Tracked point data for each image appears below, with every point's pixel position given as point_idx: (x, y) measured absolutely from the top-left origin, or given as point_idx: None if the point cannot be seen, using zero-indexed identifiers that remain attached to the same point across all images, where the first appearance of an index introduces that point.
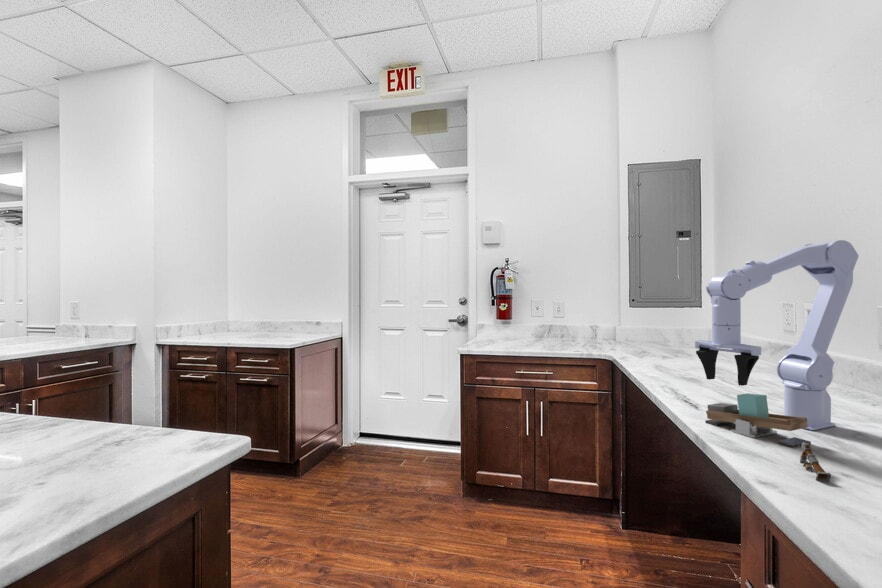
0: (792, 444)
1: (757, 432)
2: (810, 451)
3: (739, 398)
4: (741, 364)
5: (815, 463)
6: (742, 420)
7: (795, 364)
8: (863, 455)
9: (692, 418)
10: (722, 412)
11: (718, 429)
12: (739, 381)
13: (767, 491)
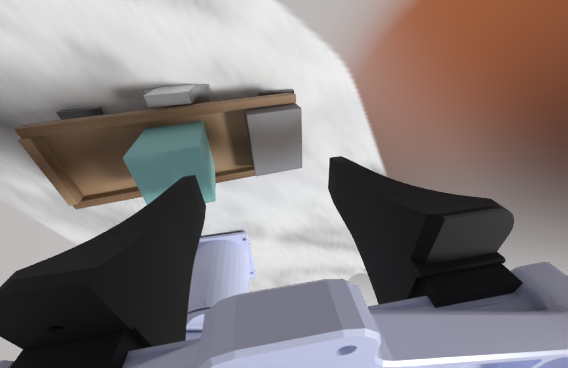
0: (67, 118)
1: None
2: None
3: (190, 142)
4: (101, 238)
5: None
6: (166, 93)
7: None
8: (26, 200)
9: (333, 90)
10: (248, 108)
11: (234, 66)
12: (182, 182)
13: None
